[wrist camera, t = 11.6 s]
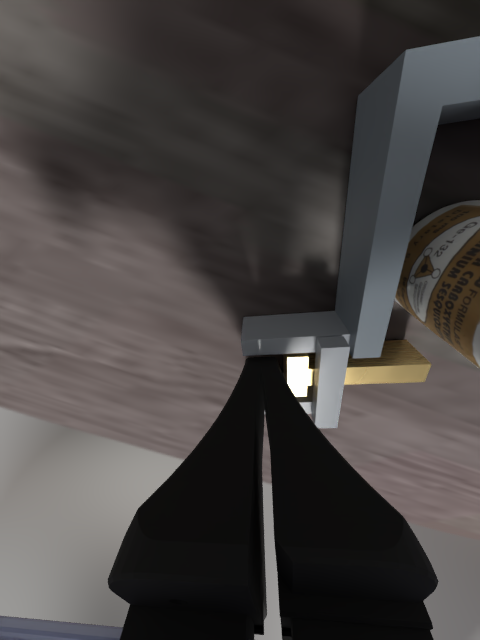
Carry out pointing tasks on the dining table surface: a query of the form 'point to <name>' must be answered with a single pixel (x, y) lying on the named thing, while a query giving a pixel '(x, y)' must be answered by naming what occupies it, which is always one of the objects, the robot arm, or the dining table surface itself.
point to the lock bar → (362, 367)
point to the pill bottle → (446, 276)
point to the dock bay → (376, 215)
